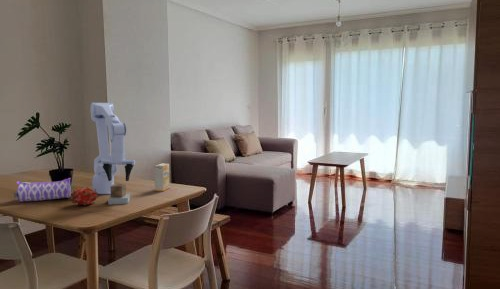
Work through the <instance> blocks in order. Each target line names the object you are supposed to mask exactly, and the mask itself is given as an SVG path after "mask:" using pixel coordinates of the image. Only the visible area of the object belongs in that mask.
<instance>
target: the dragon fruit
mask: <svg viewBox="0 0 500 289" xmlns="http://www.w3.org/2000/svg"><path fill="white" fill-rule="evenodd" d="M99 196H100V194H98V193H97V192H96V191H94V190H93V189H91V188H90V187H89V186H87V187H86V188H85V186H82V187H80V188H75V189H73V192H71V194H70V197H69V198H70V200H71V203H72V204H73V205H74V204H77V206H84V207H85V206H86V205H91V206H92V205H94V204H95V201H96V200H97V198H98V197H99Z"/></svg>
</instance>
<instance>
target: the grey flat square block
mask: <svg viewBox="0 0 500 289" xmlns="http://www.w3.org/2000/svg"><path fill="white" fill-rule="evenodd" d="M130 201H131V193H126V195H125V196H123V197H111V195H110V196H109V197H108V202H107V203H108V205H127V204H129V202H130Z"/></svg>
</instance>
